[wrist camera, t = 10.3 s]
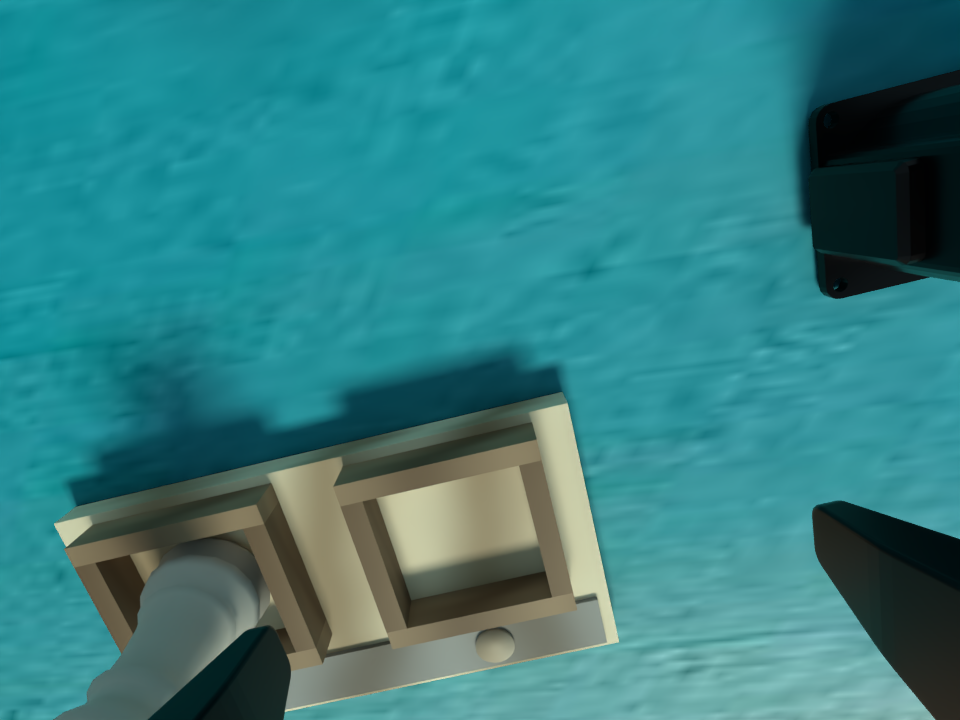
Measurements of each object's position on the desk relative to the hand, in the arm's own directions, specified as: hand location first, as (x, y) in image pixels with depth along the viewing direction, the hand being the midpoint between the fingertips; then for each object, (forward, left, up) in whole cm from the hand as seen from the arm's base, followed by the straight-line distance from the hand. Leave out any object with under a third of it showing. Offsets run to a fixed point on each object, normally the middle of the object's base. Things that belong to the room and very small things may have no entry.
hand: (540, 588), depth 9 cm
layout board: (+8, +7, -12) cm, 16 cm away
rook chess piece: (+13, +5, -11) cm, 18 cm away
